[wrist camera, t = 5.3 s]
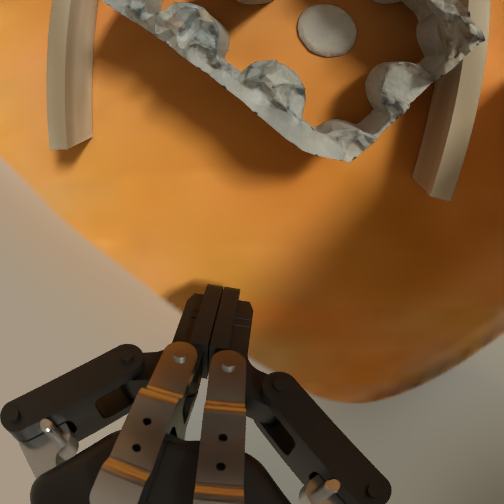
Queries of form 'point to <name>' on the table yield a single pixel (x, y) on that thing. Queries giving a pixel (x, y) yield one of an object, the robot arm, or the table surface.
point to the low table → (434, 138)
